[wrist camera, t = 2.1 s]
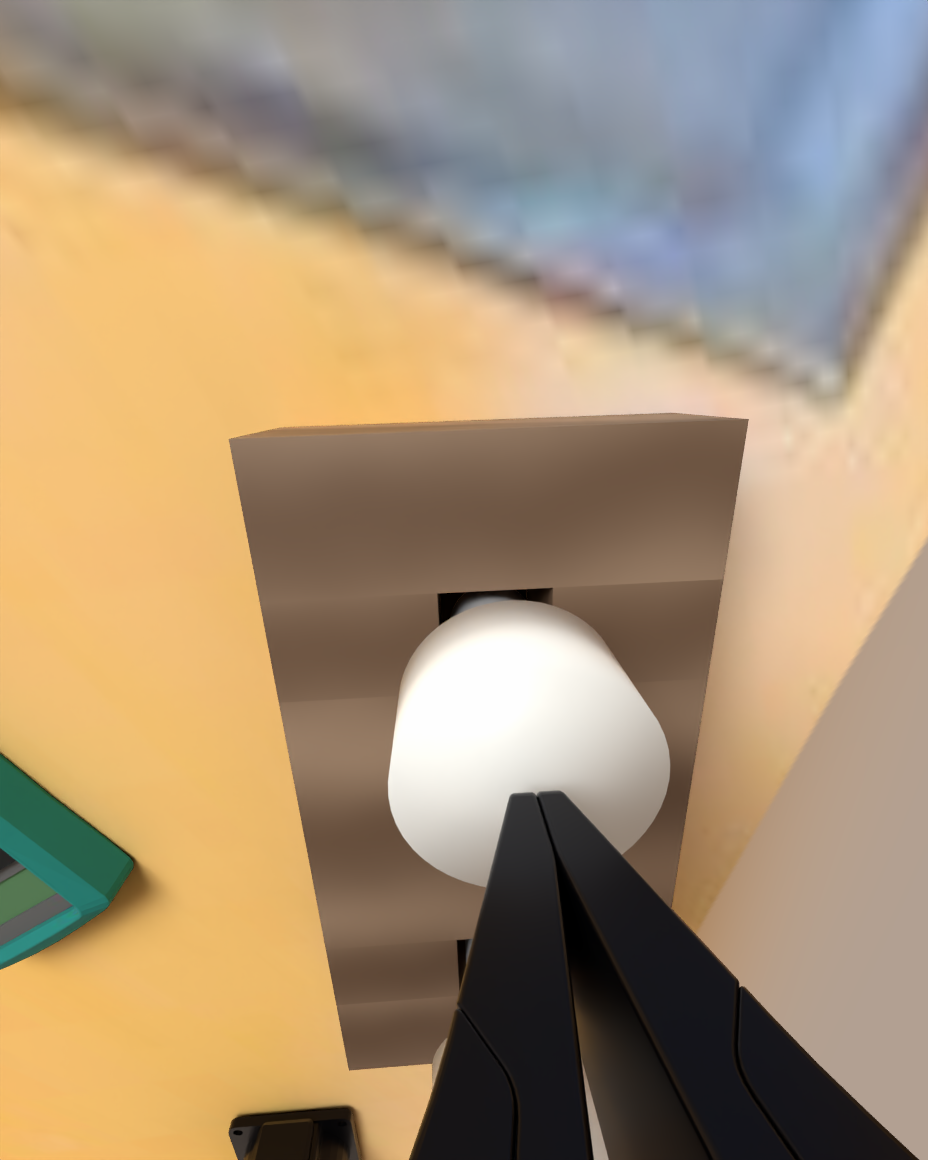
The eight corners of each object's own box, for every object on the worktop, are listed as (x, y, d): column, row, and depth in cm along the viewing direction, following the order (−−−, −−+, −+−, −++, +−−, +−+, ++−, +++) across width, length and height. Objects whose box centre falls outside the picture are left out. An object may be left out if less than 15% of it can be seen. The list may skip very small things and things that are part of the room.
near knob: (569, 687, 16) (655, 880, 9) (414, 696, 15) (399, 898, 9) (576, 538, 14) (686, 655, 8) (402, 546, 14) (374, 672, 8)
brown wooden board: (616, 943, 24) (649, 1045, 20) (362, 962, 23) (349, 1070, 20) (673, 413, 16) (748, 419, 12) (280, 427, 15) (228, 438, 11)
